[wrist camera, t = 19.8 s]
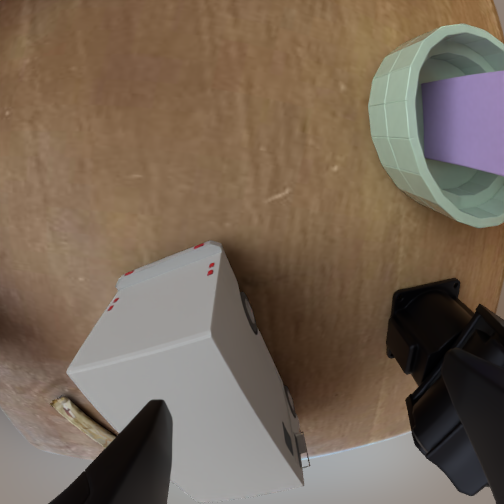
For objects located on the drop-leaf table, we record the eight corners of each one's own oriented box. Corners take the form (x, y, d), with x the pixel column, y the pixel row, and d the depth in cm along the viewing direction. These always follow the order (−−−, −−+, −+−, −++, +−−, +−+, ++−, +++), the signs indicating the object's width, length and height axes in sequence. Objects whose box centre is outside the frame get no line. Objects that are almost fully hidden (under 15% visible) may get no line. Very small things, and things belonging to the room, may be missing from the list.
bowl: (485, 55, 16) (531, 48, 11) (495, 200, 20) (540, 219, 15) (352, 34, 16) (388, 6, 11) (371, 213, 20) (410, 238, 15)
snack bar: (130, 447, 28) (113, 458, 27) (129, 439, 29) (112, 450, 28) (62, 394, 24) (46, 408, 24) (64, 387, 26) (48, 400, 25)
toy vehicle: (215, 429, 27) (211, 518, 18) (113, 273, 21) (46, 361, 12) (303, 406, 26) (323, 498, 17) (228, 228, 20) (218, 310, 11)
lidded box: (465, 162, 18) (597, 201, 7) (422, 158, 18) (565, 198, 7) (463, 91, 16) (597, 90, 5) (419, 82, 16) (561, 64, 5)
